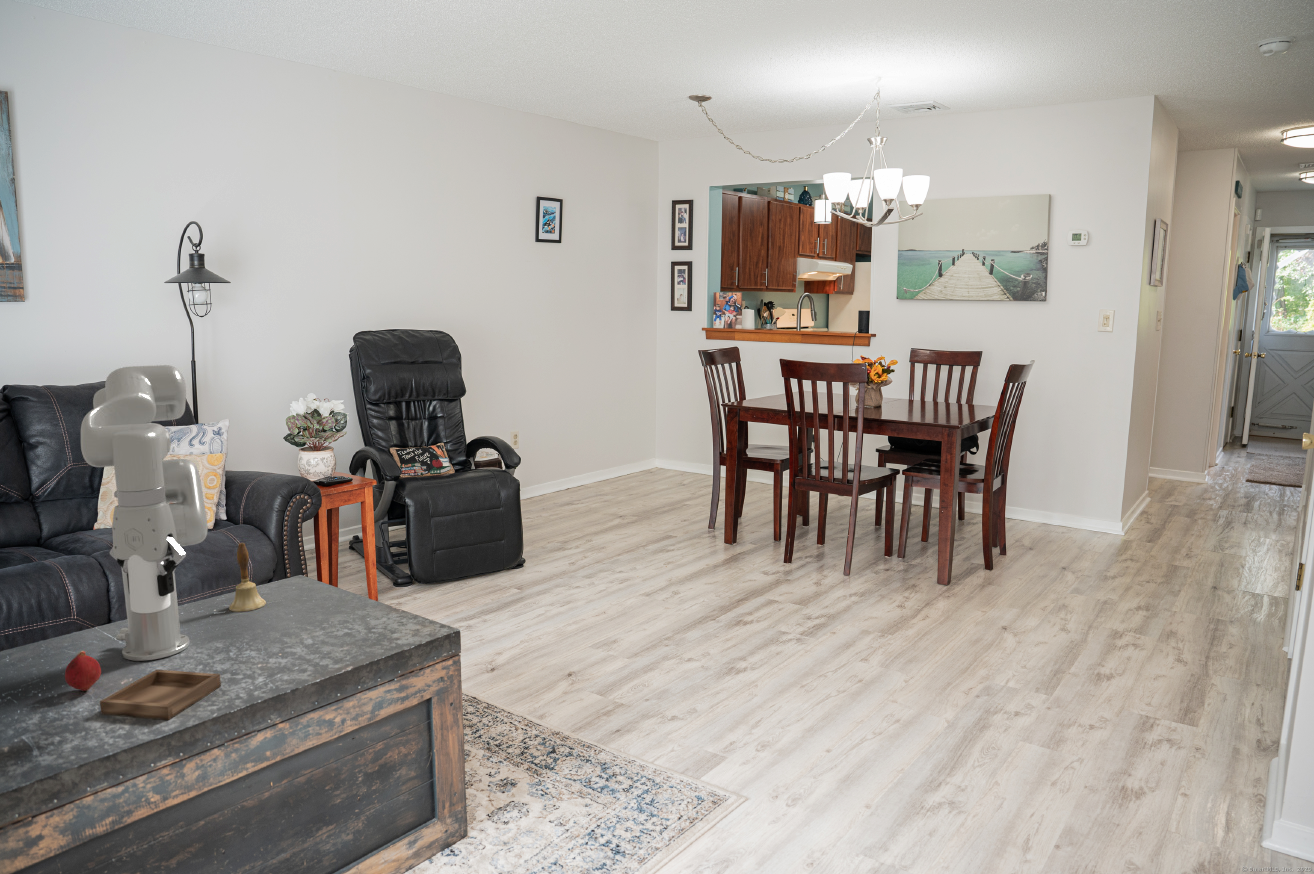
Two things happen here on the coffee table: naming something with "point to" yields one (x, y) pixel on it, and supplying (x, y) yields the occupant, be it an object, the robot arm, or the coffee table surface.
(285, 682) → the coffee table surface
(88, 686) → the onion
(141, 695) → the tray
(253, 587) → the hand bell
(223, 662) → the coffee table surface
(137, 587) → the can
